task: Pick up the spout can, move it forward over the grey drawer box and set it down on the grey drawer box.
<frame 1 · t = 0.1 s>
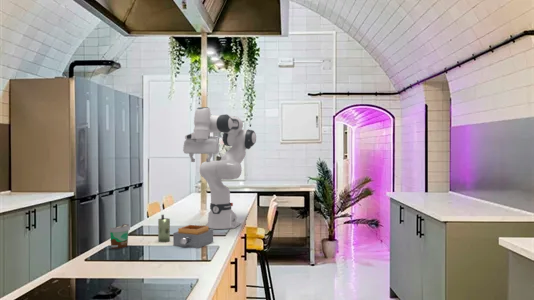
hand: (200, 162, 242), 39 cm above the counter, tool pointing down, fingers open, 8 cm apart
grey drawer box: (193, 243, 220), on the counter
food container: (122, 247, 213), on the counter
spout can: (164, 241, 226), on the counter
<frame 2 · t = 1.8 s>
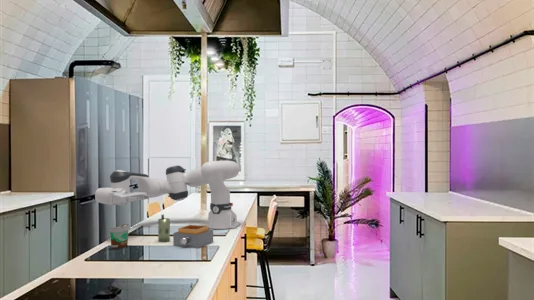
hand: (142, 198, 231), 21 cm above the counter, tool horizontal, fingers open, 8 cm apart
nothing on the counter moved.
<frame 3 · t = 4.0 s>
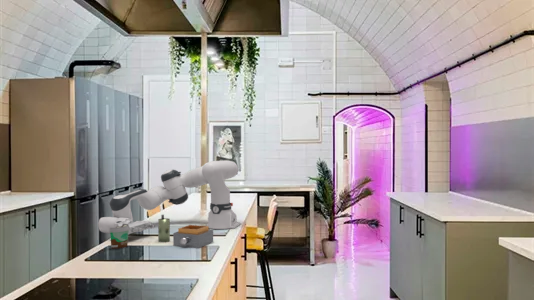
hand: (147, 228, 229), 6 cm above the counter, tool horizontal, fingers open, 8 cm apart
nothing on the counter moved.
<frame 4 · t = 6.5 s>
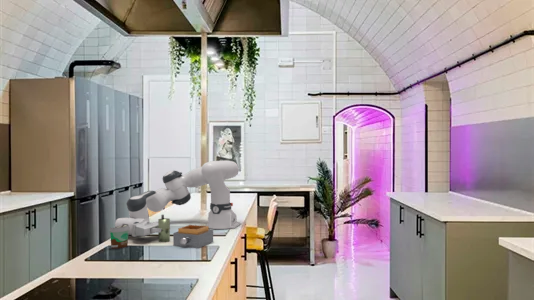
hand: (165, 229, 226), 6 cm above the counter, tool horizontal, fingers closed on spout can, 6 cm apart
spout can: (164, 241, 226), on the counter, touching gripper
everything else where it was.
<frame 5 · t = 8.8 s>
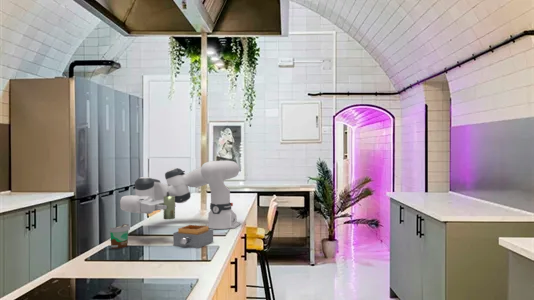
hand: (170, 206, 224), 18 cm above the counter, tool horizontal, fingers closed on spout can, 6 cm apart
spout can: (169, 218, 224), point 12 cm above the counter, touching gripper
everything else where it was.
when the fingers open (13 cm above the counter, at t = 11.4 s): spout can stays where it is, resting on grey drawer box.
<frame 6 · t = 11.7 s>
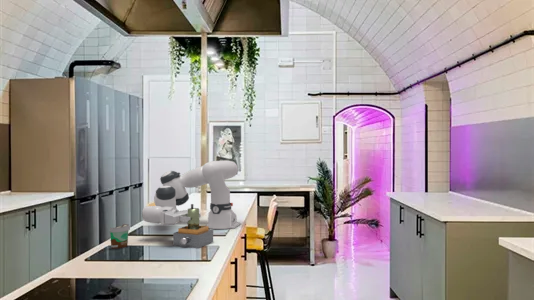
hand: (195, 217, 219), 13 cm above the counter, tool horizontal, fingers open, 8 cm apart
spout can: (193, 231, 220), point 6 cm above the counter, touching grey drawer box
everything else where it was.
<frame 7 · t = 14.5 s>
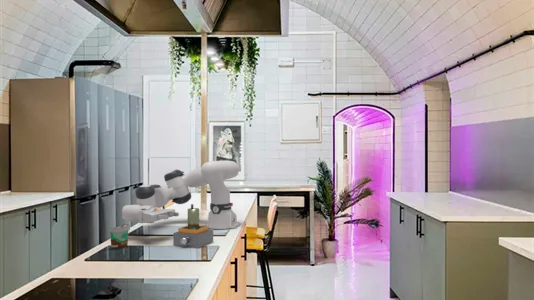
hand: (172, 215, 224), 13 cm above the counter, tool horizontal, fingers open, 8 cm apart
nothing on the counter moved.
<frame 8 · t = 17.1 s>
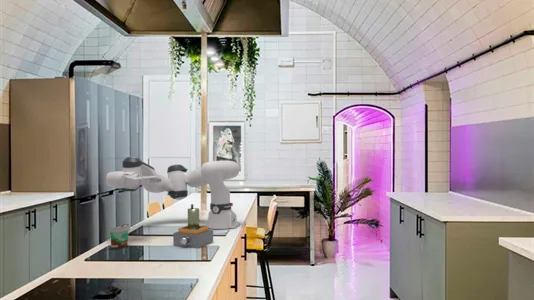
hand: (155, 181, 227), 30 cm above the counter, tool horizontal, fingers open, 8 cm apart
nothing on the counter moved.
at the end: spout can 0.0 cm off-centre on the grey drawer box, point 6.0 cm above the grey drawer box's base; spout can tilted 0°; the gripper is holding nothing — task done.
